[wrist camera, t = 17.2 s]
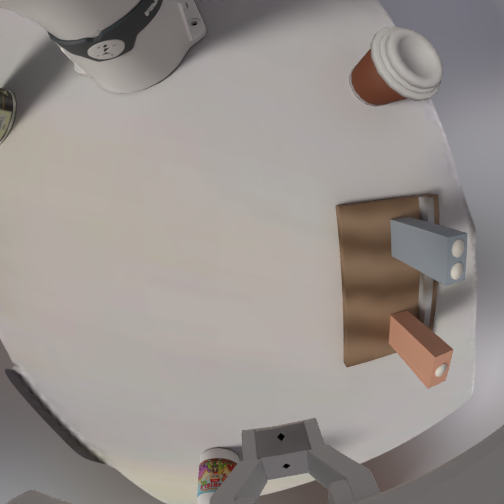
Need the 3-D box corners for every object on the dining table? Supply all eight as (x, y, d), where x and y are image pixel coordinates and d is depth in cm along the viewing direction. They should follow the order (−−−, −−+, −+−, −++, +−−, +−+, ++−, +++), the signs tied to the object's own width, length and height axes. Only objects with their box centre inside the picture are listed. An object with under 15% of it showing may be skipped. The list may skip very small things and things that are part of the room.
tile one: (390, 315, 38) (435, 358, 26) (407, 310, 38) (454, 350, 26) (388, 343, 39) (428, 389, 27) (404, 338, 39) (446, 381, 27)
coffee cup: (408, 103, 32) (462, 85, 21) (362, 125, 33) (412, 107, 21) (376, 49, 30) (420, 16, 19) (327, 66, 31) (363, 27, 19)
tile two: (390, 219, 34) (449, 237, 23) (408, 216, 35) (468, 233, 23) (391, 256, 36) (446, 286, 24) (409, 252, 36) (465, 280, 24)
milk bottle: (245, 462, 46) (251, 544, 27) (211, 469, 47) (209, 547, 27) (229, 443, 44) (231, 533, 25) (193, 450, 45) (185, 536, 25)
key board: (335, 205, 35) (345, 208, 32) (431, 193, 36) (446, 195, 32) (343, 362, 41) (351, 374, 38) (426, 336, 41) (437, 345, 38)
